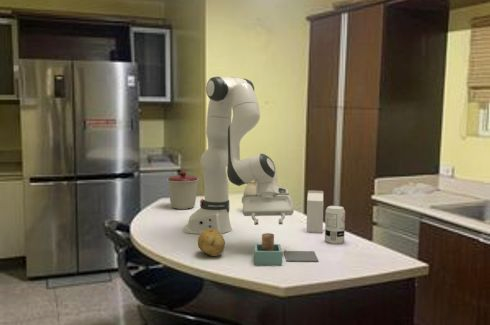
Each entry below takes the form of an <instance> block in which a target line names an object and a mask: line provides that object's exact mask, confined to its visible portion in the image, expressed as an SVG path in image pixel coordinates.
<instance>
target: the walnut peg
mask: <svg viewBox="0 0 490 325" xmlns="http://www.w3.org/2000/svg"><path fill="white" fill-rule="evenodd" d="M261 244H262V251H274V244H275V234H273V233H269V232H268V233H267V232H266V233H261Z"/></svg>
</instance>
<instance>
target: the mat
mask: <svg viewBox="0 0 490 325" xmlns="http://www.w3.org/2000/svg"><path fill="white" fill-rule="evenodd" d="M283 254H284V256H285V257H284V258H285V260H286V261H285V262H287V263H293V262H295V263H319V259H318V256H317V255H316V252H315V251H314V250H284V251H283Z"/></svg>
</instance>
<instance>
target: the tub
mask: <svg viewBox="0 0 490 325" xmlns="http://www.w3.org/2000/svg"><path fill="white" fill-rule="evenodd" d="M253 250H254V252H253V262H254V266H282V265H283V250H282V246H281V243H274V251H262V243H254V245H253Z"/></svg>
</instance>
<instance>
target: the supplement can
mask: <svg viewBox="0 0 490 325" xmlns="http://www.w3.org/2000/svg"><path fill="white" fill-rule="evenodd" d="M345 221H346V210H345V209H344V207H343V206H341V205H329V206H327V207H326V209H325V221H324V223H325V224H324V225H325V226H324V241H326V243H329V244H332V245H333V244H335V245H337V244H343V242H344V241H345V229H346V228H345V226H346V225H345V224H346V222H345Z"/></svg>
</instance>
